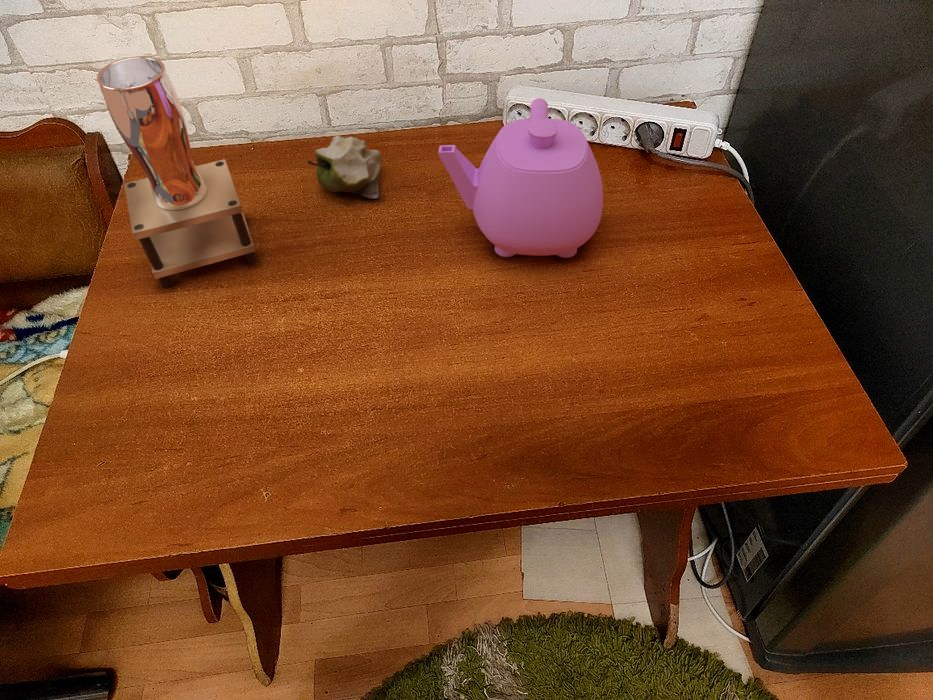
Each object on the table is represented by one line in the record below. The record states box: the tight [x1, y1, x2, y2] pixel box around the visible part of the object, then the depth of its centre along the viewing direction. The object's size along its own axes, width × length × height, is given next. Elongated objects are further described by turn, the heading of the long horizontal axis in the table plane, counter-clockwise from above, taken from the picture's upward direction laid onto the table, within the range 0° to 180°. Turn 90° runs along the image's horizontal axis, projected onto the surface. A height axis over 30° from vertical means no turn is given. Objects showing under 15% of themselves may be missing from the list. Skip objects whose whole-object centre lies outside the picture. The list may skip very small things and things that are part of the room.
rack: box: [123, 158, 258, 289], centre depth 83 cm, size 12×10×9 cm
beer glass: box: [96, 55, 207, 210], centre depth 74 cm, size 7×7×15 cm
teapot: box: [437, 97, 604, 259], centre depth 84 cm, size 20×20×15 cm
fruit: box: [307, 135, 382, 200], centre depth 93 cm, size 9×9×8 cm
